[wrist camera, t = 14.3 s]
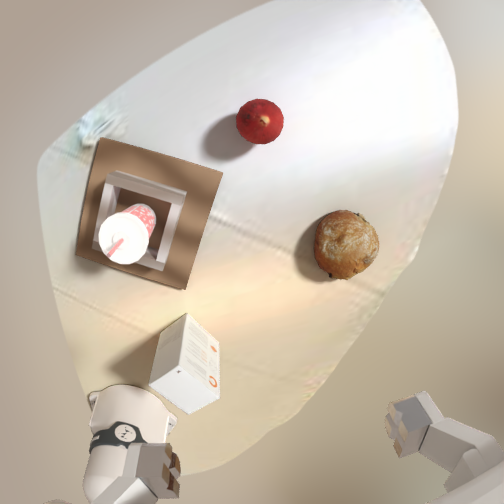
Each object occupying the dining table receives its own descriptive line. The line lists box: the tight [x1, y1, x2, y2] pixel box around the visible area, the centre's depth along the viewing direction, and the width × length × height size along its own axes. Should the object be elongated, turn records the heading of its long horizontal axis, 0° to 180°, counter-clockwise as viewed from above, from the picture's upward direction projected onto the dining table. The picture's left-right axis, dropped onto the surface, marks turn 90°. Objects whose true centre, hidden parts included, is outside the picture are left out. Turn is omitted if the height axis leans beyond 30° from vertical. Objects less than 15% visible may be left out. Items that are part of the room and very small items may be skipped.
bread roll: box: [314, 210, 379, 280], centre depth 46 cm, size 10×10×8 cm
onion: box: [236, 99, 284, 144], centre depth 37 cm, size 6×6×8 cm
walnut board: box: [76, 137, 223, 290], centre depth 41 cm, size 18×18×5 cm
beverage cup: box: [98, 204, 156, 264], centre depth 36 cm, size 6×6×14 cm
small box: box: [148, 313, 220, 415], centre depth 45 cm, size 8×6×13 cm
